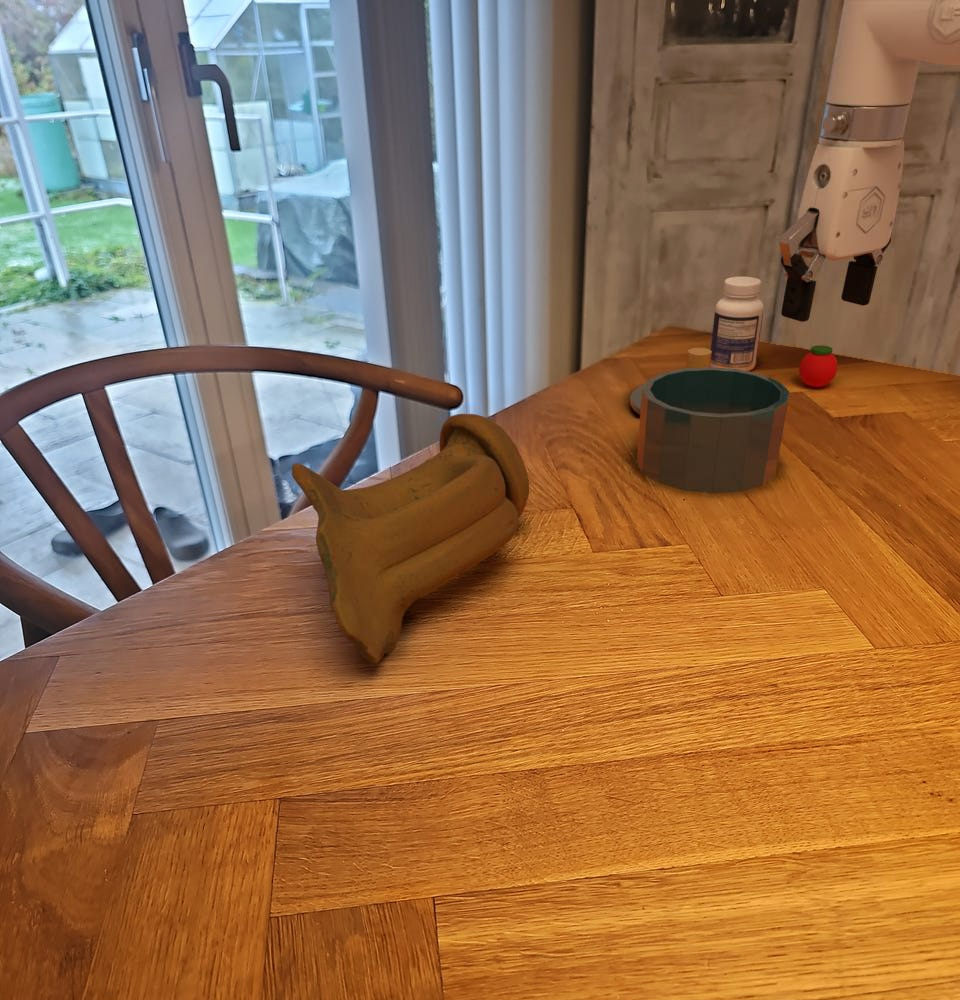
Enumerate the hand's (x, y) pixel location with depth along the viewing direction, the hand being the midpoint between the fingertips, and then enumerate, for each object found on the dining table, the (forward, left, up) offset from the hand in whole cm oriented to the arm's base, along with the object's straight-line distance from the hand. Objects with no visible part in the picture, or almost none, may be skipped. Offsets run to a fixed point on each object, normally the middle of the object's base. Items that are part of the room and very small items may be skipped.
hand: (825, 310), depth 94 cm
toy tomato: (0, 0, -8) cm, 8 cm away
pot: (+18, +20, -8) cm, 28 cm away
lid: (+15, +5, -8) cm, 17 cm away
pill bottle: (+7, -8, -8) cm, 13 cm away
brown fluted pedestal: (+44, +38, -8) cm, 59 cm away
